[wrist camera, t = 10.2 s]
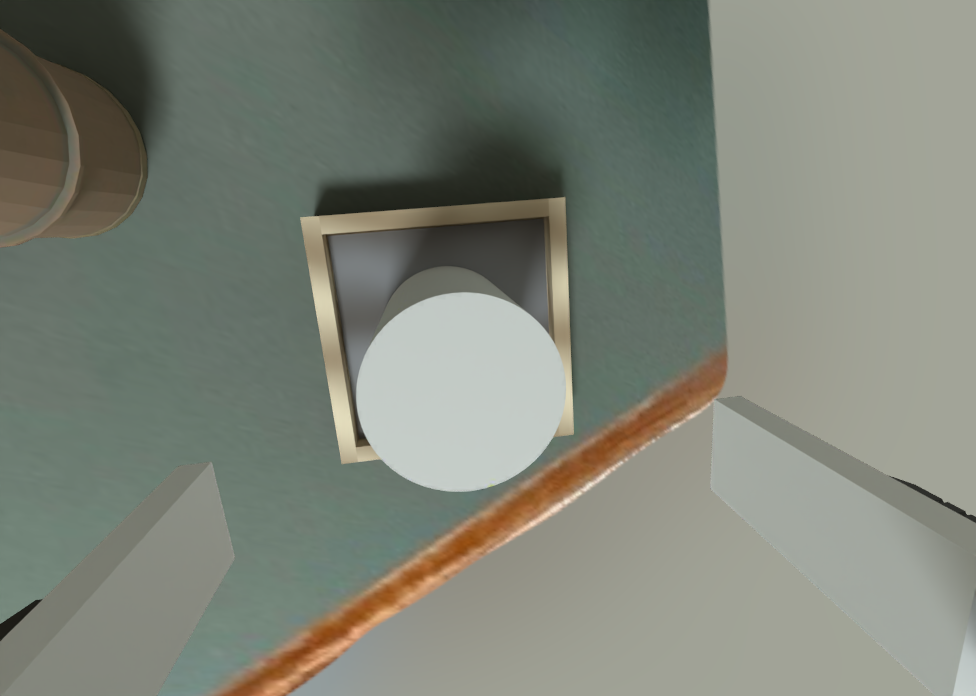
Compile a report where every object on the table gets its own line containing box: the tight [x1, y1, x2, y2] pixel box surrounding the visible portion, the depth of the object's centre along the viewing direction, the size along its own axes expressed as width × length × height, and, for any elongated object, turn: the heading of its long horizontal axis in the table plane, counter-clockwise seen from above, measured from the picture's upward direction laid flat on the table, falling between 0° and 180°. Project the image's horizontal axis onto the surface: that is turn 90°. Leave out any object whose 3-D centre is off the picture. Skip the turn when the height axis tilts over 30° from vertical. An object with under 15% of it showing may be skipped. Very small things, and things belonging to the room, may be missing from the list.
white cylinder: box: [356, 266, 566, 492], centre depth 25 cm, size 8×8×12 cm
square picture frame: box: [300, 197, 574, 464], centre depth 31 cm, size 15×15×3 cm
